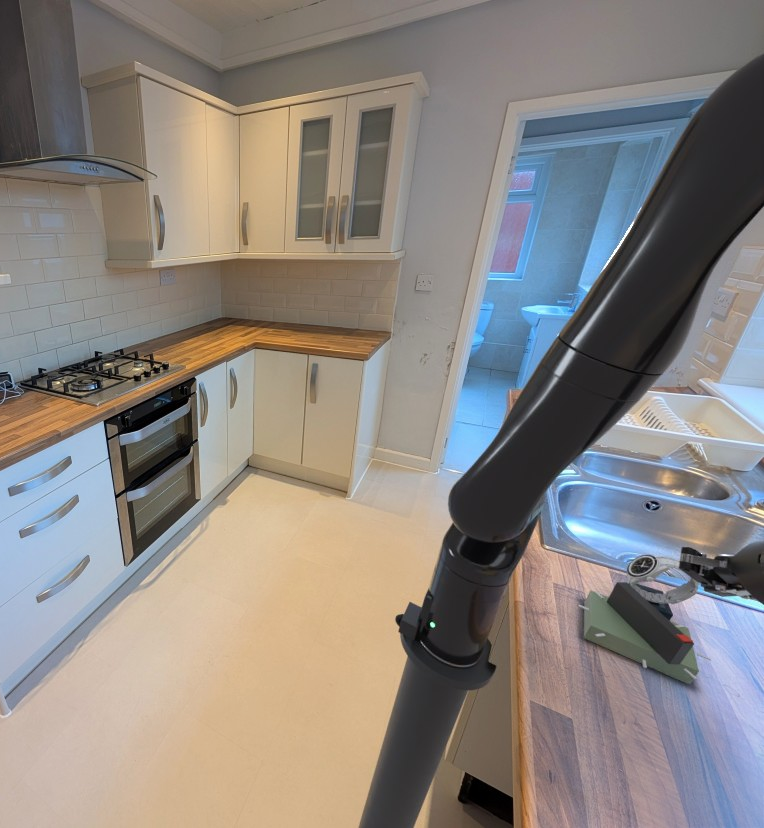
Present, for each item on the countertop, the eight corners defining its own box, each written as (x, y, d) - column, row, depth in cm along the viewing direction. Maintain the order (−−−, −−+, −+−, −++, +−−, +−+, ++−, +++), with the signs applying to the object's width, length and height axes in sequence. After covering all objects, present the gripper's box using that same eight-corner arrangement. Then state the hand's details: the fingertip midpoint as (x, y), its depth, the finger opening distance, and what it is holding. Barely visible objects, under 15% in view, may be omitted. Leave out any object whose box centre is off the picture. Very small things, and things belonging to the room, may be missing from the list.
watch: (608, 589, 77) (633, 542, 72) (668, 608, 73) (699, 560, 69) (615, 612, 73) (642, 563, 68) (679, 633, 69) (713, 583, 64)
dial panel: (570, 651, 66) (577, 637, 65) (572, 590, 77) (579, 577, 76) (711, 715, 57) (723, 701, 56) (691, 637, 68) (701, 623, 67)
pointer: (606, 601, 71) (617, 580, 69) (615, 601, 71) (627, 580, 69) (668, 664, 61) (684, 642, 59) (679, 664, 61) (695, 642, 59)
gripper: (954, 565, 35) (796, 578, 50) (725, 509, 42) (644, 535, 56) (955, 657, 33) (791, 643, 48) (716, 583, 40) (635, 591, 54)
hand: (712, 585), depth 52 cm, fingers closed
